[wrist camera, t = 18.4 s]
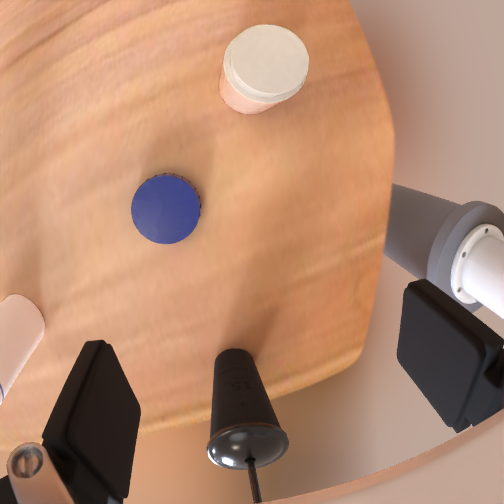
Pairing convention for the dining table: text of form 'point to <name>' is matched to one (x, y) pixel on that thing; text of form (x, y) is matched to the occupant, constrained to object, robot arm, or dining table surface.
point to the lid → (166, 208)
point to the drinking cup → (243, 419)
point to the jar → (262, 68)
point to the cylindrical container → (17, 337)
